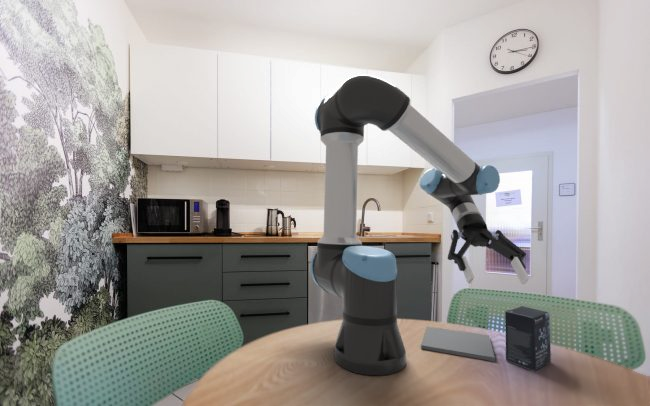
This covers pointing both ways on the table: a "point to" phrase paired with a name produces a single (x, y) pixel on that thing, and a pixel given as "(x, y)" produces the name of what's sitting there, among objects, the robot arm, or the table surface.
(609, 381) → the table surface
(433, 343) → the mat
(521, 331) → the box
